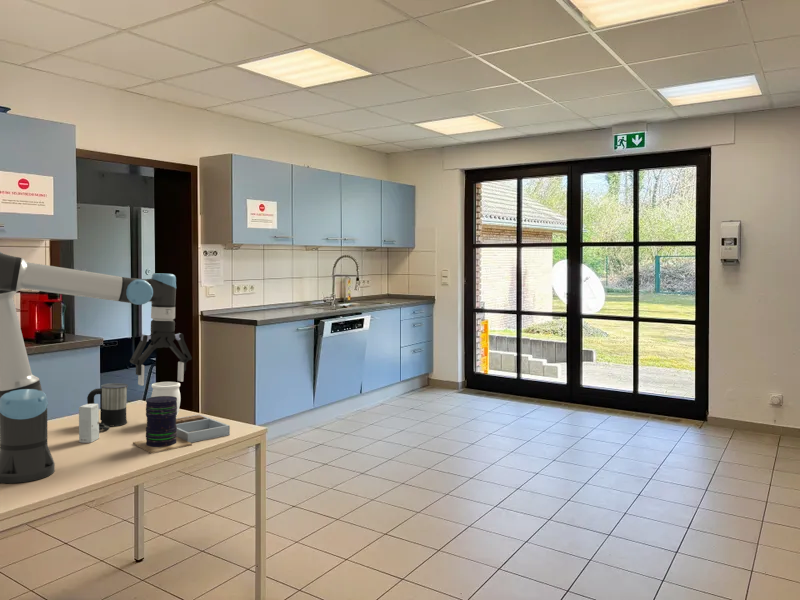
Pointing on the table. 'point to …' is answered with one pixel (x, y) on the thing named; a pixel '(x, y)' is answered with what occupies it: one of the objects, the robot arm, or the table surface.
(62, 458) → the table surface
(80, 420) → the skincare box
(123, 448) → the table surface
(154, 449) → the mat
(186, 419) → the block
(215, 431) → the tray
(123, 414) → the milk frother
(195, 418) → the block
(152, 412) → the rusty oil drum
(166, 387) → the jar
